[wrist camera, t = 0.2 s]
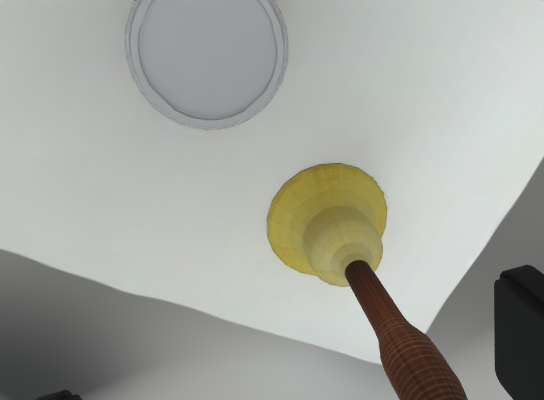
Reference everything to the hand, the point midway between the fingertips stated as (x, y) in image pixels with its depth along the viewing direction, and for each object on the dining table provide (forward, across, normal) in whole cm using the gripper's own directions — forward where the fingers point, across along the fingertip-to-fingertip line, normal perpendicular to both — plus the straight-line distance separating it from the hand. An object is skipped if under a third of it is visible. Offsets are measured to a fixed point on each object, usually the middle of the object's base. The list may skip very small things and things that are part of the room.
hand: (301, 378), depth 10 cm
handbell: (+31, -7, +13) cm, 35 cm away
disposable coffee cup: (+31, 0, -6) cm, 32 cm away
